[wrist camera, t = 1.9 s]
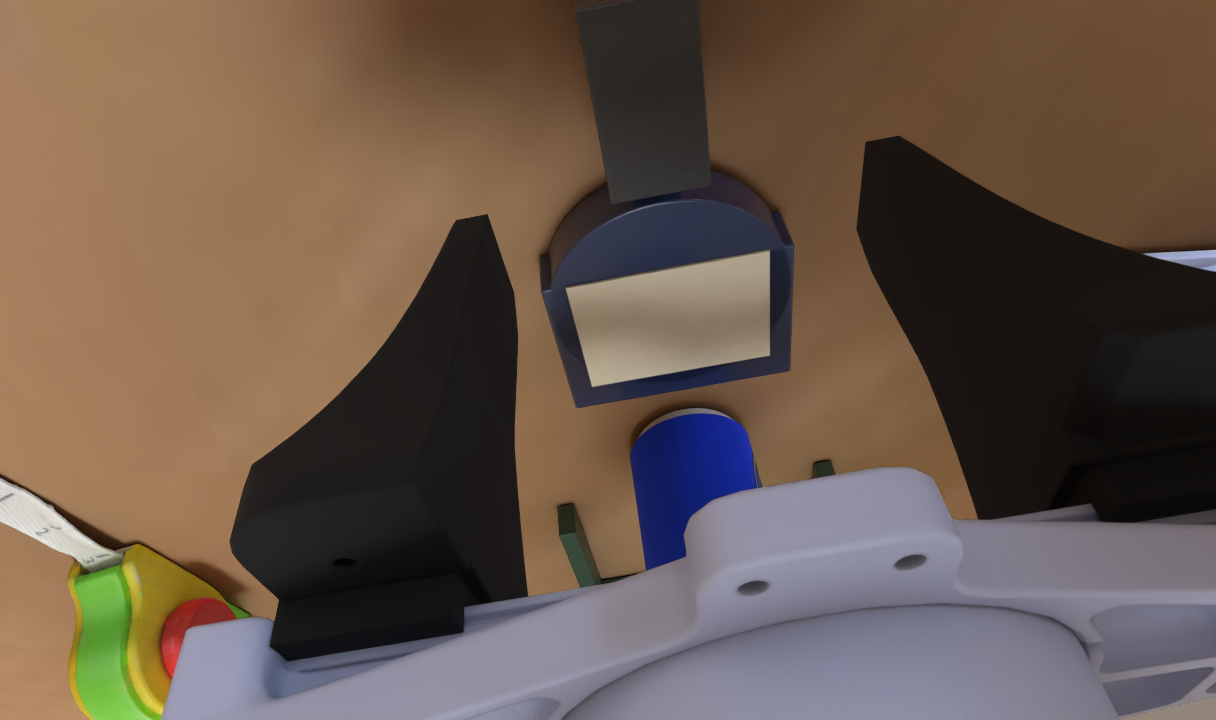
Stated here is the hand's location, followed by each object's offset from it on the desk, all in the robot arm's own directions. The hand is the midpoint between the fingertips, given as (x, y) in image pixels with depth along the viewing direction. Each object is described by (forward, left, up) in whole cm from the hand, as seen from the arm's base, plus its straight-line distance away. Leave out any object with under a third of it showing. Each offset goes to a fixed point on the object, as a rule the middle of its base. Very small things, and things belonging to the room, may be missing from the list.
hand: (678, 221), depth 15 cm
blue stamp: (-1, +5, -8) cm, 9 cm away
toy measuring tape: (+23, +24, -8) cm, 34 cm away
